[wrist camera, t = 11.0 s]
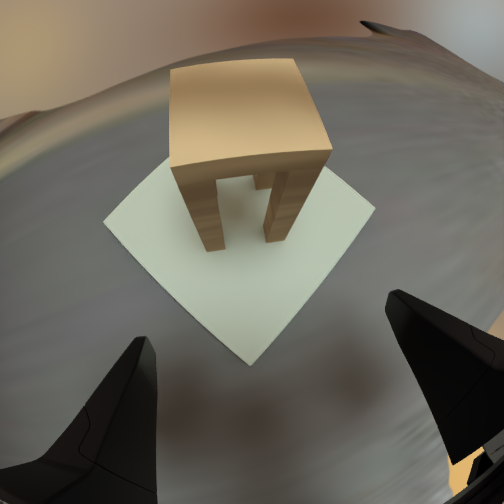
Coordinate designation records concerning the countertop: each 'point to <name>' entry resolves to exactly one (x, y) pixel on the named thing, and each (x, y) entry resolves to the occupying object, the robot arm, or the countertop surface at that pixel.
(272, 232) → the wooden footstool
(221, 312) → the board
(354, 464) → the countertop surface
